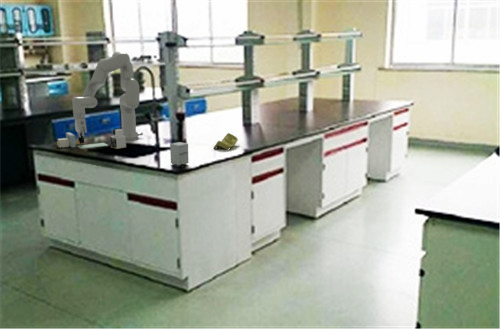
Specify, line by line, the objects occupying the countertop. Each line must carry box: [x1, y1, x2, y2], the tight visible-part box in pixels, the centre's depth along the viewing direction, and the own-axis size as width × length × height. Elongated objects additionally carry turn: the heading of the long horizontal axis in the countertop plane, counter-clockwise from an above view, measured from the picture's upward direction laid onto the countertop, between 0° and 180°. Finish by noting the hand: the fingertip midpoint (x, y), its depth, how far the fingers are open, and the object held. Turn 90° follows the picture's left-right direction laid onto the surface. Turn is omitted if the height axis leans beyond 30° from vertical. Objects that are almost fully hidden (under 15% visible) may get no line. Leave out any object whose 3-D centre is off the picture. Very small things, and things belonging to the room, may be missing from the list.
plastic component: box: [213, 132, 239, 150], centre depth 353 cm, size 20×7×10 cm
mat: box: [76, 142, 109, 150], centre depth 355 cm, size 18×9×1 cm, turn 123°
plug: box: [56, 137, 81, 149], centre depth 354 cm, size 14×4×5 cm, turn 124°
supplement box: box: [169, 141, 189, 165], centre depth 304 cm, size 7×7×13 cm
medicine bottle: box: [109, 128, 127, 150], centre depth 350 cm, size 7×7×12 cm
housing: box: [65, 132, 77, 148], centre depth 355 cm, size 2×12×8 cm, turn 34°
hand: (81, 143), depth 360 cm, fingers closed
